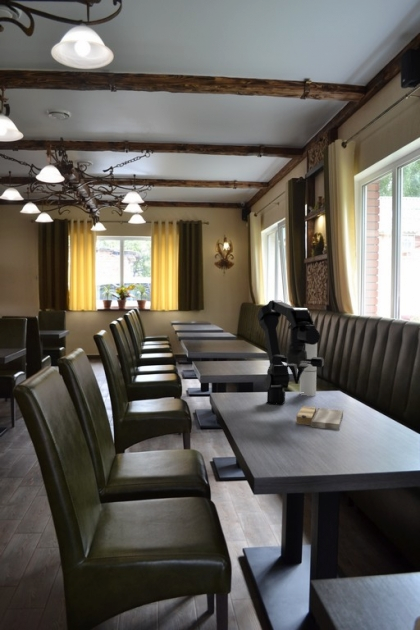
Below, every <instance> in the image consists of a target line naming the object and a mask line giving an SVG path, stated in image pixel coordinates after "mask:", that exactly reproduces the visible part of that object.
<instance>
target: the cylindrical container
mask: <svg viewBox="0 0 420 630" xmlns="http://www.w3.org/2000/svg"><path fill="white" fill-rule="evenodd" d="M306 352H307V359H311V358H313V357H318V342H317V343H316V344H314V345H311V344H306ZM300 392H304V393H301V395H300V396H302V395H307V396H306V397H314V395H315V396H317V367H313V366H312V365H311V364H308V367H307V368H305V369H304V371H303V372H302V375H301V377H300V380H299V393H300Z"/></svg>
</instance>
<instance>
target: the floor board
mask: <svg viewBox="0 0 420 630" xmlns="http://www.w3.org/2000/svg"><path fill="white" fill-rule="evenodd" d="M343 417H344V410H343V409H332V408H324V407H323V408H321V407H317V408H316V413H315V415H314V417H313V419H312V421H311V425H310V427H313V428H318V429H319V428H321V429H331V430H340V427H341V424H342V419H343Z"/></svg>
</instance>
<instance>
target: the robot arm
mask: <svg viewBox="0 0 420 630" xmlns="http://www.w3.org/2000/svg"><path fill="white" fill-rule="evenodd" d="M282 316H284V317H285V318H286V319H285V320H287V322H289V323H290V325H288V327H287V328H288V329H289V332H290V335H289V336H290V337H289V338H290V339H289V348H288V351H287V354H286V356H285V354H281V349H280V344H279V338H278V331H277V327H278V324H279V321H280V320H279V319H280V317H282ZM256 318H257V321H258V324H259V327H260V328H261V329H262V330H263V331H264V337H265V342H266V343H265V344H266V349H267V355H268V361H269V366H268V368H267V371H266V375H267V376H266V377H265V379H264V381H263V388H265V389H267V392H266V393H267V396H266V397H267V398H266V399H267V400H266V402H265V403H266V404H268V405H278V406H282V405H284V403H285V402H286V391H285V389H288V388H289V383H290V380H291V379H290V373H289V370H290V371H291V374H292V377H293V380H294V383H295V385H298V384H300V377H301V375H302V372H303V371H304V369H305V368H307V367H308V364H311V365H312V366H313V367H318V368H322V367H324V366H325V359H324V358H323V357H320V356H319V357H318V356H317V357H313V358H311V359H307V352H306V344H311V345H314V344H316V343H317V344H318V343H319V341H320V339H321V335H320V332H319V331H318V330H317V329H316V325H315V324H314V323H315V322H314V319H312V317H311V313H310V311H309V309H308V308H306V307H295V306H292V305H290V304H288V303H285V302H283V301H282V300H277V299H276V300H275V299H274V300H273V299H271V300H269V302H268V303H267V304H265V305H264V306H262V307H260V309H259V310H258V312H257V315H256ZM284 363H286V364H284Z"/></svg>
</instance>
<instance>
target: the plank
mask: <svg viewBox="0 0 420 630" xmlns="http://www.w3.org/2000/svg"><path fill="white" fill-rule="evenodd" d="M316 411H317V407H315V406H314V407H313V406H301V407H300V410H299V412H297V415H296V420H295V421H296V422H295V423H296V425H308V426H311V421H312V419H313V417H314V415H315V413H316Z"/></svg>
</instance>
